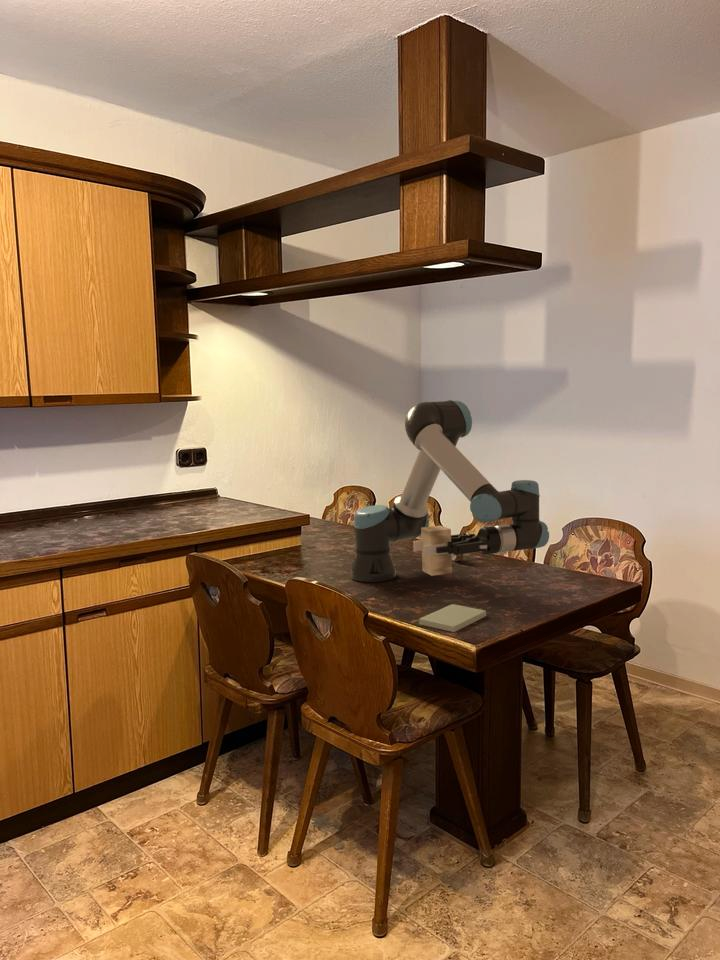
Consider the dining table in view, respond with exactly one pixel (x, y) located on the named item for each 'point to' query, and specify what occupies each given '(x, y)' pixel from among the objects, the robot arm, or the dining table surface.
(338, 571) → the dining table surface
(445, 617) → the sage board
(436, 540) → the maple block
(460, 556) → the tin
